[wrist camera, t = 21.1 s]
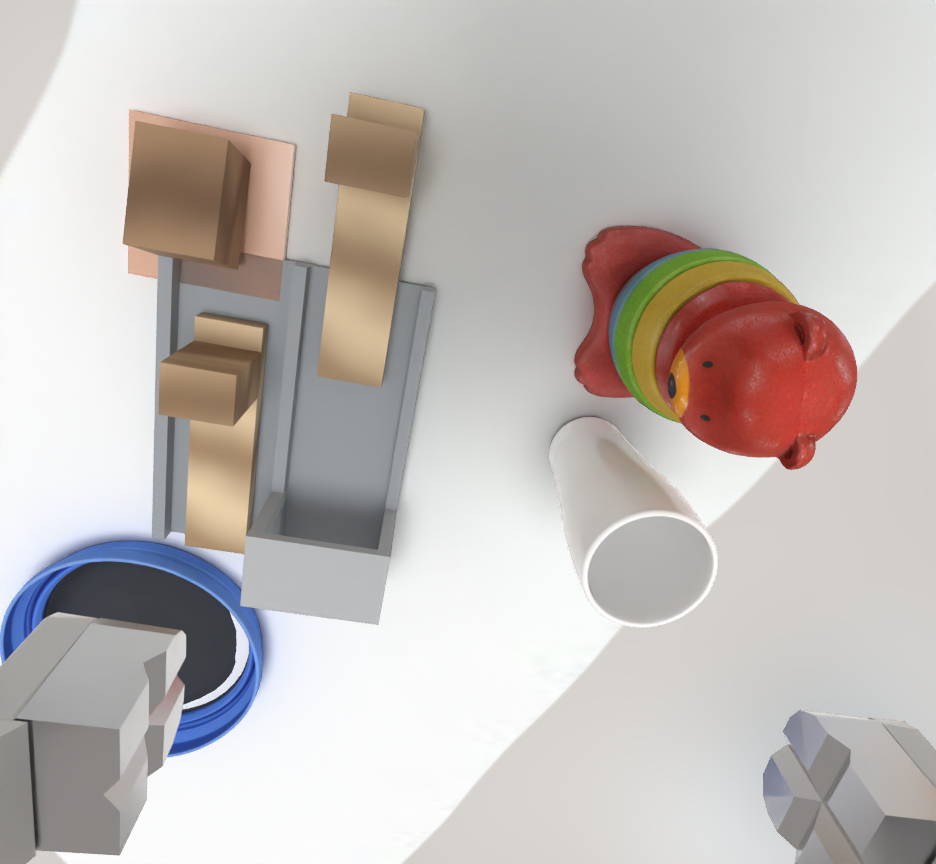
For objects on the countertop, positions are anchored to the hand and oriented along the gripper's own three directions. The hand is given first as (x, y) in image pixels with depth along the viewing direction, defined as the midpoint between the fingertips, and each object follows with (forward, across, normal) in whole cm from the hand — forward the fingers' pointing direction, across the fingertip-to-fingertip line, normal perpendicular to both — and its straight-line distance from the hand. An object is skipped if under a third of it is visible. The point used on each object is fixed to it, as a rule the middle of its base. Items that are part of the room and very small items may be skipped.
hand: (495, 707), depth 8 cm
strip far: (+34, +13, +12) cm, 38 cm away
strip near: (+34, +5, -2) cm, 35 cm away
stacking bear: (+34, -13, -1) cm, 37 cm away
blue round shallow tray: (+35, +18, +30) cm, 49 cm away
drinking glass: (+34, -11, +9) cm, 37 cm away
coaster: (+34, +15, -2) cm, 37 cm away
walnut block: (+33, +15, -2) cm, 36 cm away
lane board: (+34, +9, +10) cm, 37 cm away
